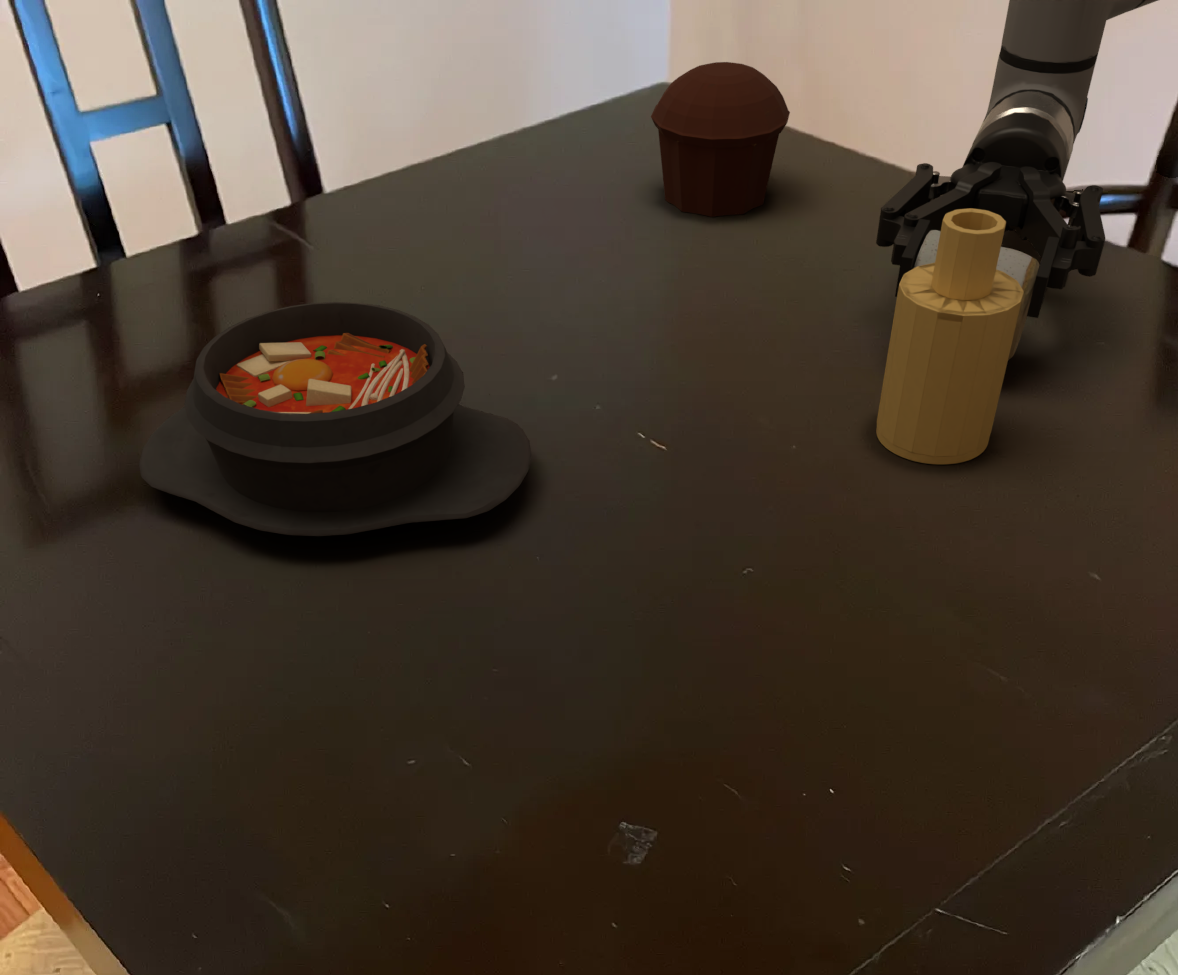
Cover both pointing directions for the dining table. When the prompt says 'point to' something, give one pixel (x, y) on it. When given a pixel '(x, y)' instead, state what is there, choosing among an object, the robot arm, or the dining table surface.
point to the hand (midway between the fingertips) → (969, 287)
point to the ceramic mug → (1008, 262)
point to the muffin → (719, 138)
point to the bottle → (950, 345)
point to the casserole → (333, 426)
